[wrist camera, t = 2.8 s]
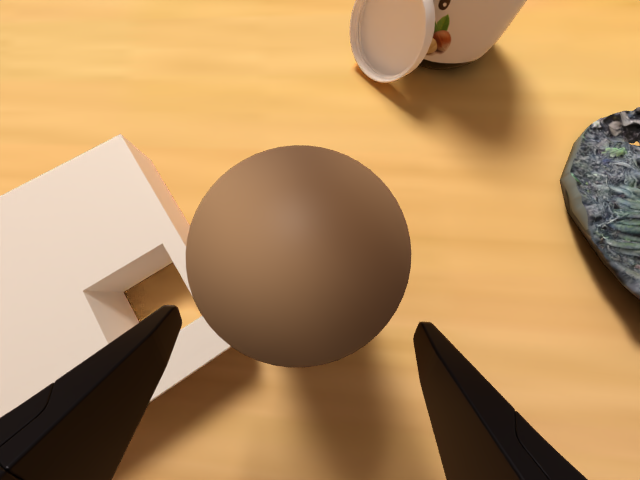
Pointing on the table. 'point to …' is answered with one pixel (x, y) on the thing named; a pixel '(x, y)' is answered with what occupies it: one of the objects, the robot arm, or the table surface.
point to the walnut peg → (298, 256)
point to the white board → (87, 268)
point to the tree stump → (608, 193)
